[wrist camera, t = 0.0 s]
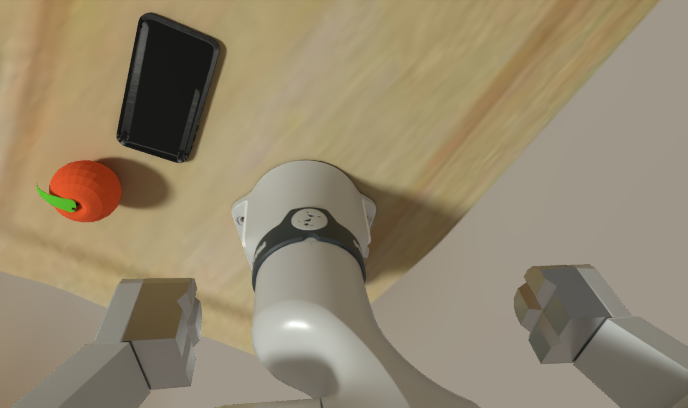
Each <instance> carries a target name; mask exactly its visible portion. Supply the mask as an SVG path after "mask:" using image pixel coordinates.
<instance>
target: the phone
mask: <svg viewBox="0 0 688 408" xmlns="http://www.w3.org/2000/svg"><path fill="white" fill-rule="evenodd" d="M219 51H220V48H219V44H218V42H217V41H216V40H215V39H214V38H212V37H210V36H208V35H205V34H203V33H201V32H198V31H196V30H193V29H191V28H189V27H186V26H184V25H182V24H179V23H177V22H175V21H172V20H170V19H167V18H165V17H163V16H160V15H158V14H156V13H152V12H151V13H146V14H144V15H142V16H141V17H140V19H139V22H138V27H137V32H136V37H135V42H134V47H133V52H132V58H131V63H130V68H129V73H128V78H127V83H126V88H125V93H124V99H123V104H122V109H121V114H120V119H119V124H118V129H117V140H118V141H119V143H121V144H122V145H123V146H126V147H129V148H132V149H135V150H138V151H141V152H144V153H148V154H151V155H154V156H157V157H160V158H163V159H166V160H170V161H173V162H176V163H182V162H185V161H186V160H187V158H188V156H189V154H190V150H191V149H192V146H193V145H192V143H193V142H194V139H195V136H196V134H195V133H196V132H197V130H198V127H199V125H198V123H199V120H200V116H201V113H202V109H203V106H204V103H205V99H206V96H207V92H208V89H209V86H210V82H211V79H212V75H213V72H214V69H215V65H216V62H217V58H218V55H219Z"/></svg>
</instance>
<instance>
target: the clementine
mask: <svg viewBox="0 0 688 408" xmlns="http://www.w3.org/2000/svg"><path fill="white" fill-rule="evenodd" d="M37 191H38V193H39V194H40V196H41V197H42V198H43V199H45V200H46V201H47V202H48V203H50V204H51V205H53V206H54V207H55V208H56V210H57V211H58V212H59V213H60V214H62V215H63V216H65V217H66V218H68V219H71V220H74V221H79V222H94V221H98V220H101V219H103V218H105V217H107V216H109V215H110V214H111V213H112V212H113V211H114V210H115V209H116V208H117V207H118V204H119V202H120V199H121V196H122V189H121V184H120V181H119V179H118V177H117V176H116V174H115V173H114V172H113V171H112V170H111V169H109V168H108V167H106V166H105V165H103V164H100V163H98V162H94V161H90V160H82V161H76V162H72V163H69V164H67V165H65V166H64V167H62V168H61V169H59V170H58V171H57V172H56V173H55V175H54V176H53V178H52V179H51V182H50V185H49V194H47V193H45V192H43V191H41V190H40V189H39V188H38V187H37Z"/></svg>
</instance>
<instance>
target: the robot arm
mask: <svg viewBox="0 0 688 408" xmlns="http://www.w3.org/2000/svg"><path fill="white" fill-rule="evenodd" d="M375 214H376V205H375V203H374V202H373V201H372V200H371V199H369V198H368V197H366V196H364V195H363V194H361V193H360V192H359V191H358V190H357V189H356V187H355V186H354V184H353V183H352V181H351V180H350V179H349V178H348V177H347V176H346V175H345V174H344V173H343V172H342V171H340V170H339V169H337V168H335V167H333V166H331V165H328V164H326V163H322V162H318V161H310V160H302V161H294V162H289V163H286V164H283V165H280V166H278V167H276V168H274V169H273V170H271V171H269V172H268V173H267V174H266V175H264V176H263V177H262V178H261V179H260V181H259V182H258V183H257V184H256V186H255V187H254V189H253V190H252V191H251V192H250V193H249V194H248V195H246V196H244V197H243V198H241V199H239V200H238V201H236V202H235V203H234V204H233V206H232V216H233V219H234V222H235V224H236V227H237V230H238V233H239V236H240V239H241V242H242V245H243V247H244V250H245V253H246V256H247V259H248V262H249V264H250V267H251V270H252V271H251V274H252V285H253V290H254V292H255V297H254V308H253V319H252V330H251V339H252V345H253V348H254V351H255V353H256V355H257V357H258V358H259V360H260V361H261V363H262V364H263V365H264V366H265V368H266V369H267V370H268V371H269V372H270V373H271V374H272V375H273V376H274V377H275V378H277V379H278V380H279V381H281V382H283V383H285V384H286V385H288V386H291V387H293V388H295V389H298V390H299V391H302V392H304V393H306V394H308V395H309V396H311V397H312V398H313V399H303V400H291V401H290V400H289V401H275V402H262V403H246V404H233V405H224V406H220V407H217V408H480V407H479V406H478V405H477V404H475V403H474V402H472V401H470V400H468V399H466V398H464V397H461V396H459V395H457V394H455V393H453V392H451V391H449V390H447V389H445V388H443V387H441V386H440V385H438V384H437V383H435V382H434V381H432V380H431V379H429V378H427V377H426V376H425V375H424V374H422V373H421V372H420V371H418V370H417V369H416V368H415V367H414V366H412V365H411V364H410V363H409V362H408V361H407V360H406V359H405V358H403V356H402V355H401V354H400V353H399V352H398V351H397V350H396V349H395V348H394V347H393V346H392V345H391V343H390V342H389V341H388V340H387V339H386V337H385V336H384V335H383V333H382V331H381V330H380V328H379V326H378V324H377V322H376V320H375V317H374V314H373V311H372V309H371V305H370V302H369V299H368V295H367V292H366V288H365V280H366V270H365V260H364V258H368V256H369V248H368V247H367V246H368V244H370V243H371V236H370V228H371V225H372V223H373V220H374V217H375ZM241 217H244V219H242V218H241ZM524 278H525V280H526V283H525V284H523V285H522V286H521V287H519V288H518V290H517V292H516V294H515V297H514V309H515V313H516V316H517V318H518V320H519V322H520V324H521V325H522V326H523V327H524V328H526V329H527V330H528V331H530V335H529V342H530V344H531V346H532V348H533V350H534V352H535V354H536V355H537V357H538V359H539V361H540V363H541V364H553V363H574V364H573V365H574V366H575V367H576V368H577V369H578V370H580V371H581V372H582V373H583V374H584V375H585V376H586V377H587V378H589V379H590V380H591V381H592V382H593V383H594V384H595V385H596V386H597V387H598V388H600V389H601V390H602V391H603V392H604V393H605V394H606V395H607V396H608V397H610V398H611V399H612V400H613V401H614V402H615V403H616V404H617V405H618V406H619V407H621V408H688V346H686V345H685V344H683V343H681V342H680V341H678V340H676V339H675V338H673V337H671V336H670V335H668V334H667V333H665V332H664V331H662V330H660V329H659V328H657V327H655V326H654V325H652V324H650V323H649V322H647V321H646V320H644V319H642V318H641V317H633V315H632V314H631V313H630V312H629V310H628V309H627V308H626V306H625V305H624V304H623V303H622V301H621V300H620V299H619V297H618V296H617V295H616V294H615V293H614V291H613V290H612V289H611V287H610V286H609V285H608V283H607V282H606V281H605V280H604V278H603V277H602V276H601V274H600V273H599V272H598V271H597V269H596V268H595V267H593V266H591V265H590V264H584V265H555V266H554V265H553V266H532V267H531V268H530V269H528V270H527V272H526V274H525V275H524ZM196 291H197V287H196V283H195V279H193V278H147V279H122V281H121V282H120V283H119V284H118V285H117V287H116V289H115V292H114V294H113V297H112V299H111V301H110V304H109V306H108V309H107V311H106V313H105V316H104V318H103V321H102V323H101V326H100V328H99V330H98V333H97V335H96V338H95V340H94V342H93V344H85V345H84V346H83V347H82V348H80V349H79V350H78V351H77V352H76V353H74V354H73V355H72V356H71V357H70V358H69V359H67V360H66V361H65V362H64V363H63V364H61V365H60V366H59V367H58V368H57V369H56V370H55V371H53V372H52V373H51V374H50V375H48V376H47V377H46V378H45V379H44V380H42V381H41V382H40V383H39V384H38V385H36V386H35V387H34V388H33V389H32V390H31V391H29V392H28V393H27V394H26V395H25V396H23V397H22V398H21V399H20V400H19V401H18V402H16V403H15V404H14V405H13V406H12V407H10V408H138V407H139V406H140V405H141V404H142V402H143V401H144V400H145V398H146V397H147V396H148V395H149V394H150V390H153V389H154V390H155V389H166V388H176V387H187V386H191V381H192V376H193V371H194V366H195V361H196V357H195V353H194V349H193V347H194V346H195V345H196V344H197V343H198V342H199V340H200V334H201V326H202V310H201V304H200V301H199V300H198V299H197V298H195V295H196Z"/></svg>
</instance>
